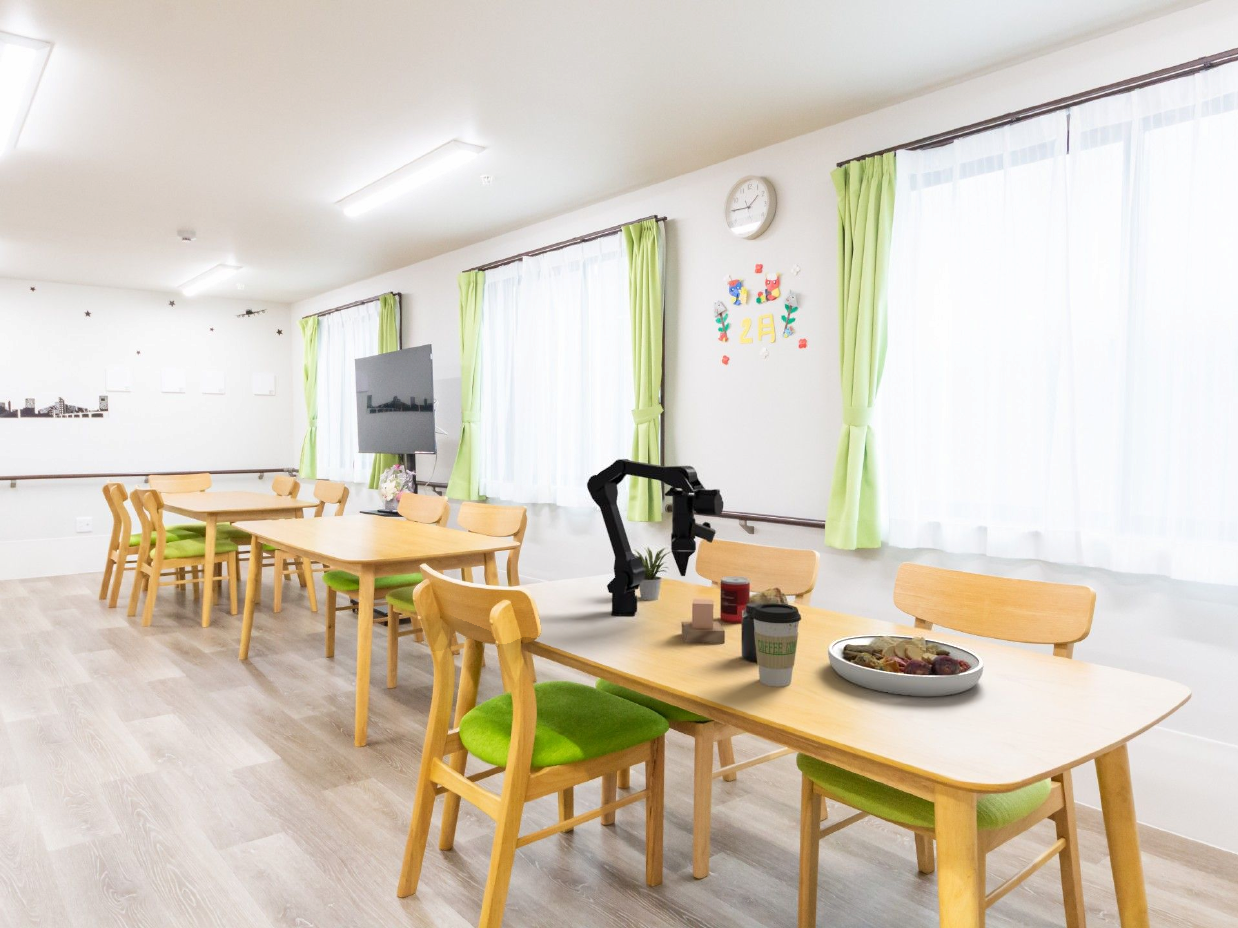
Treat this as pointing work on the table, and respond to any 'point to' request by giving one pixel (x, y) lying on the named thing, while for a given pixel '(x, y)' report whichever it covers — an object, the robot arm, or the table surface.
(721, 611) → the canned food
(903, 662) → the bowl
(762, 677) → the coffee cup
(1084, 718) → the table surface
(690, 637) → the walnut box
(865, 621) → the table surface
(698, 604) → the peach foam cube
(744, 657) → the supplement bottle
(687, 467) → the robot arm
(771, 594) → the pastry
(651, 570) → the house plant
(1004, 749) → the table surface
